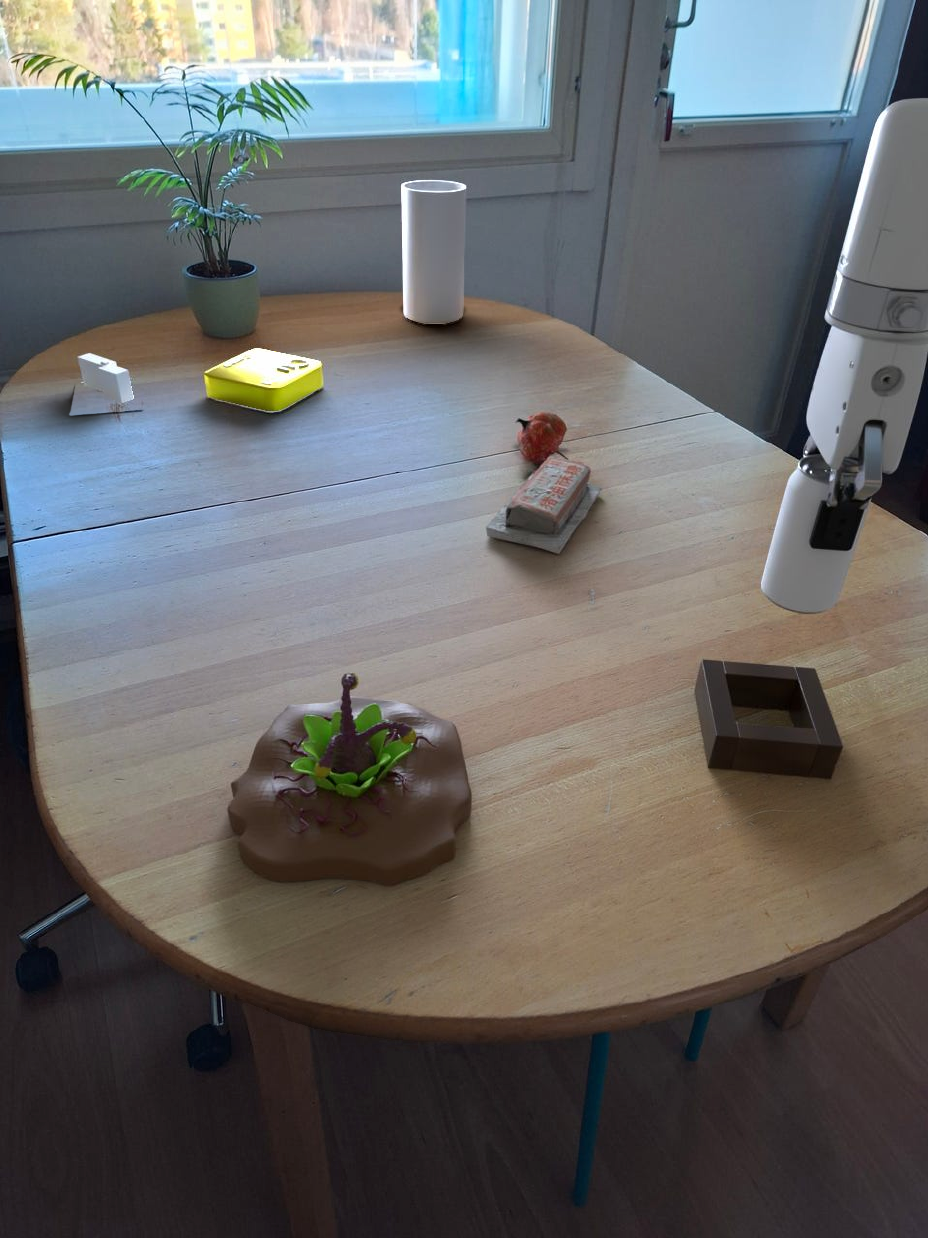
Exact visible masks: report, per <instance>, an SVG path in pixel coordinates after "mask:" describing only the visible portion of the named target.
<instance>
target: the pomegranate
mask: <svg viewBox="0 0 928 1238" xmlns="http://www.w3.org/2000/svg"><path fill="white" fill-rule="evenodd" d="M517 423H520V424H521V425H520V429H518V432H517V433H518V434H517V443H518V450H519V452H520V454H521V456H522V457H523V458H524V459H525V460H526V461H527V462H528V463H532V464H535V465H542V464H543V463H544V462H545V461H546V460H547V459H548V457H550V455H554V454H558V455H560V456H561V457H562V458H563V459H566V460H567V459H568V460H570V459H569V458H568V457H566V456H565V455H564V454H563V453H562V452H561V451H559V447H560V446H561V445H562V443H563V440H564V437H565V435H566V432H567V431H568V428H567V424H566V423H565V422H564V420H563V419H562V418H561V417H560V416H558V415H557V414H556V413H555V414H554V413H553V412H552V413H551V412H545V411H541V412H539V413H536V414H532V415H530V416H528V418H527V419H525V420H524V419H522V418H520V417H518V418H517V419H516V421H515V424H517Z"/></svg>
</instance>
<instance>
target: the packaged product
mask: <svg viewBox="0 0 928 1238" xmlns="http://www.w3.org/2000/svg"><path fill="white" fill-rule="evenodd" d="M568 459H569V458H568ZM568 459H565V458H564V457H556V456H549V457H548V459H547V460H546V461H545V462H544V463H542V464H540V465H539V468H537V469H536V471H533V472H532V473H531V475H530V476H529V477H528V478H527V479H526V481H525V482H524V483H523V484H522V485H521V487H519V489H518V490H517V491H516V492H515V493H514V494H513V495H512V497H511V498H510V499H509V500H508V501H507V502H506V504H504V506H503V507H502V508H501V509H500V510H499V511H498V513H497V514H496V515H495V516H494V517H493V518H492V519H491V521H490V522H489V523H488V524H487V525H486V526H485V530H486V531H485V532H486V536H487V537H489V538H493V539H496V540H497V539H498V540H502V541H508V542H511V543H517V544H520V545H525V546H530V547H535V548H539V549H543V550H546V551H549V552H551V553H554V554H558V555H559V554H560V553H561V551H562V550H563V549H564V547H565V546H566V544H567V542H568V541H569V540H570V538H571V537H572V534H573V533H574V531H576V529H577V528H578V526H579V525H580V523H581V522H583V521H584V520H585V519H586V518H587V516H588V513H589V510H590V508H591V507H592V506H593V504H594V503H595V501H596V500H597V498H598V496H599V495H600V493H601V492H602V491H603V487H602V486H597V485H593V484H589V480H590V477H591V471H592V469H591V467H589V466H588V465H587V464H585V463H584V462H582V461H576V460H572V459H571V460H570V459H569V460H568Z"/></svg>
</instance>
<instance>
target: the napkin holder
mask: <svg viewBox="0 0 928 1238" xmlns="http://www.w3.org/2000/svg"><path fill="white" fill-rule="evenodd" d="M77 361H78V366H79V369H80V374H81V378H82V383H84V385H85V386H88V387H91V388H94V389H96V390H99V391H102V392H103V394H104V397H107V398H109V399H112V400H115V401H117V402H120V403H124V402H127V401H130V400H133V399H134V395H133V391H132V386H131V381H130V379H131V376H130V372H129V371H130V370H129V369H126V368H124V367H120V366H118V365H117V361H115V360H112V359H109V358H105V357H102V356H100V355H96V354H93V353H90V352H89V353H85V354H82V355H78V356H77Z"/></svg>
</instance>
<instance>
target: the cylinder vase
mask: <svg viewBox="0 0 928 1238" xmlns="http://www.w3.org/2000/svg"><path fill="white" fill-rule="evenodd" d="M466 208H467V185H466V184H464V183H460V182H456V181H451V180H436V179H435V180H433V179H429V180H428V179H427V180H425V179H423V180H413V181H407V182H404V183H401V223H402V224H401V234H402V235H401V237H402V239H401V240H402V242H401V243H402V294H403V297H402V301H403V303H402V304H403V316H404V317H405V319H407V318H408V319H410V320H413V321H416V322H422V323H448V322H453V321H456V320H458V321H460V320H461V319H462V318H463V316H464V301H465V300H464V299H465V298H464V296H465V294H464V293H465V260H466V259H465V255H466V254H465V253H466V216H467V215H466V211H467V210H466ZM460 318H461V319H460ZM408 319H407V320H408ZM459 319H460V320H459ZM410 320H409V321H410ZM456 322H457V321H456ZM453 323H454V322H453Z"/></svg>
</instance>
